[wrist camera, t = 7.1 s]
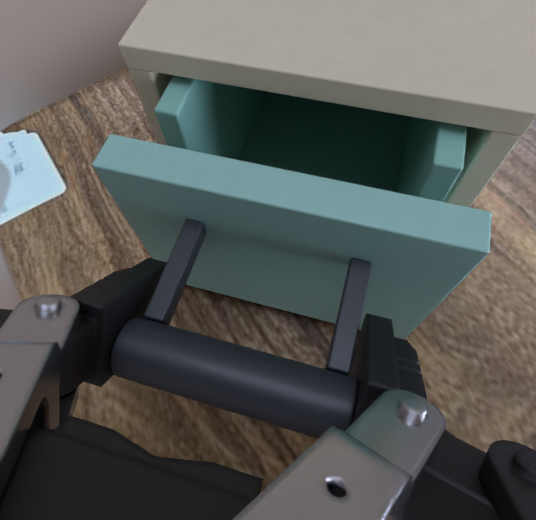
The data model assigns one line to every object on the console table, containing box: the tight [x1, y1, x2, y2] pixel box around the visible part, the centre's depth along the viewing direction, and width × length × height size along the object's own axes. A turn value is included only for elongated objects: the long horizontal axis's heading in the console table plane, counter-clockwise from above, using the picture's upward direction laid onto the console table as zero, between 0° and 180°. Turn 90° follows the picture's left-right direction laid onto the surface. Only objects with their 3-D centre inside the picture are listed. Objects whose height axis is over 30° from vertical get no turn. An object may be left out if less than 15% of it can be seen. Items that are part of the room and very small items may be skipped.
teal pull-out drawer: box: [92, 75, 492, 438], centre depth 16 cm, size 19×10×8 cm, turn 164°
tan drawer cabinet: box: [118, 0, 536, 207], centre depth 18 cm, size 16×12×10 cm
